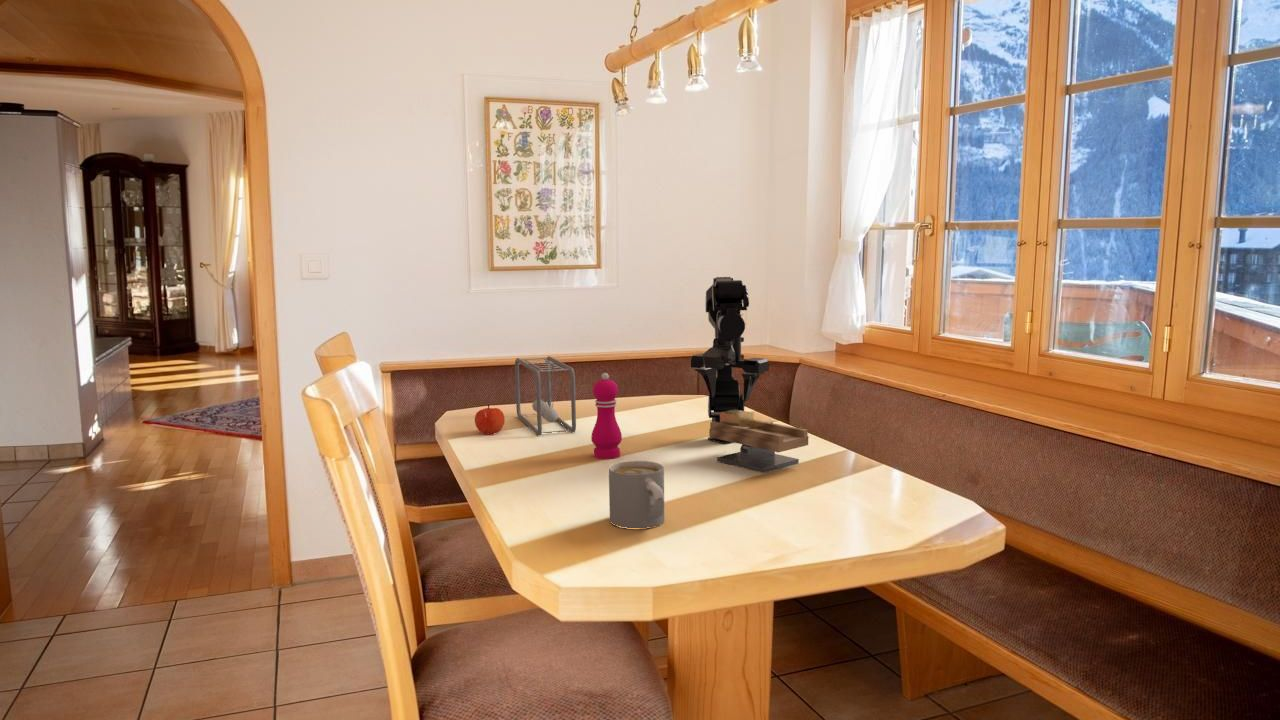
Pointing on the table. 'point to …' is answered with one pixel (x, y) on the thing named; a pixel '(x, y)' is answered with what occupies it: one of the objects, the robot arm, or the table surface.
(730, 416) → the tan wooden block
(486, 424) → the apple
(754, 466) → the fulcrum stand
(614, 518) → the coffee mug
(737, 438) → the wooden tray
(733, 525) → the table surface
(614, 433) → the pepper mill
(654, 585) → the table surface
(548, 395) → the newton's cradle
